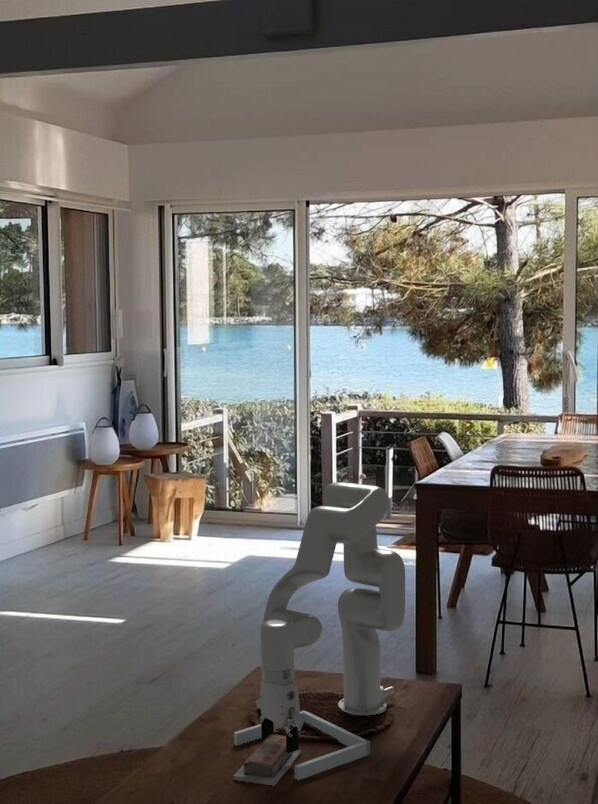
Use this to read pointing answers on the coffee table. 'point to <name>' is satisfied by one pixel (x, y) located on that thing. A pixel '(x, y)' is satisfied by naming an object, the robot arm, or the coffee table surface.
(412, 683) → the coffee table surface
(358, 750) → the open frame
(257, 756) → the packaged product
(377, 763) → the coffee table surface
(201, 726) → the coffee table surface
